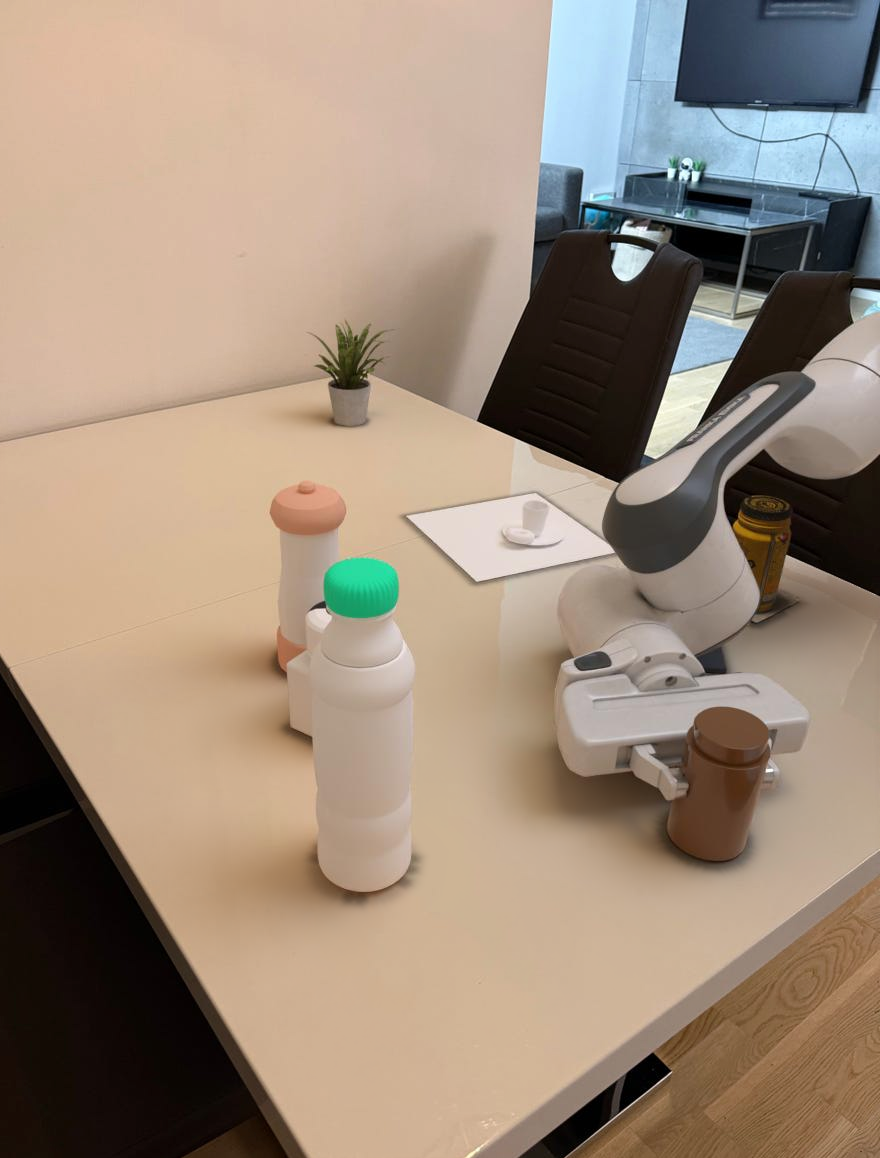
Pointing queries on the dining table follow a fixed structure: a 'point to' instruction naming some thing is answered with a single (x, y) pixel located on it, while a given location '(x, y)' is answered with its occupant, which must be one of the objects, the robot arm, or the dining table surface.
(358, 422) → the house plant
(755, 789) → the jar
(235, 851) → the dining table surface
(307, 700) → the medicine bottle
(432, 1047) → the dining table surface
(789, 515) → the condiment
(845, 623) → the dining table surface
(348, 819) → the water bottle
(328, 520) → the pepper shaker
